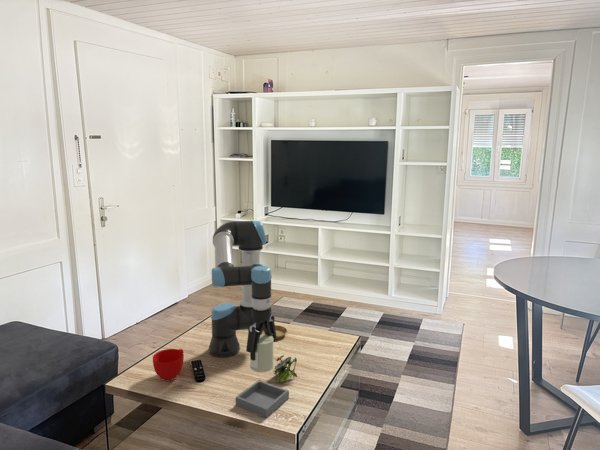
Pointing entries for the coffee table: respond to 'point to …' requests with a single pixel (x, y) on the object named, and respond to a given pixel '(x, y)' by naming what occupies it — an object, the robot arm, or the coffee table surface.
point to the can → (264, 354)
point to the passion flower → (281, 368)
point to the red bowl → (168, 363)
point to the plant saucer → (279, 331)
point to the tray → (262, 398)
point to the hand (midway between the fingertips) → (262, 361)
